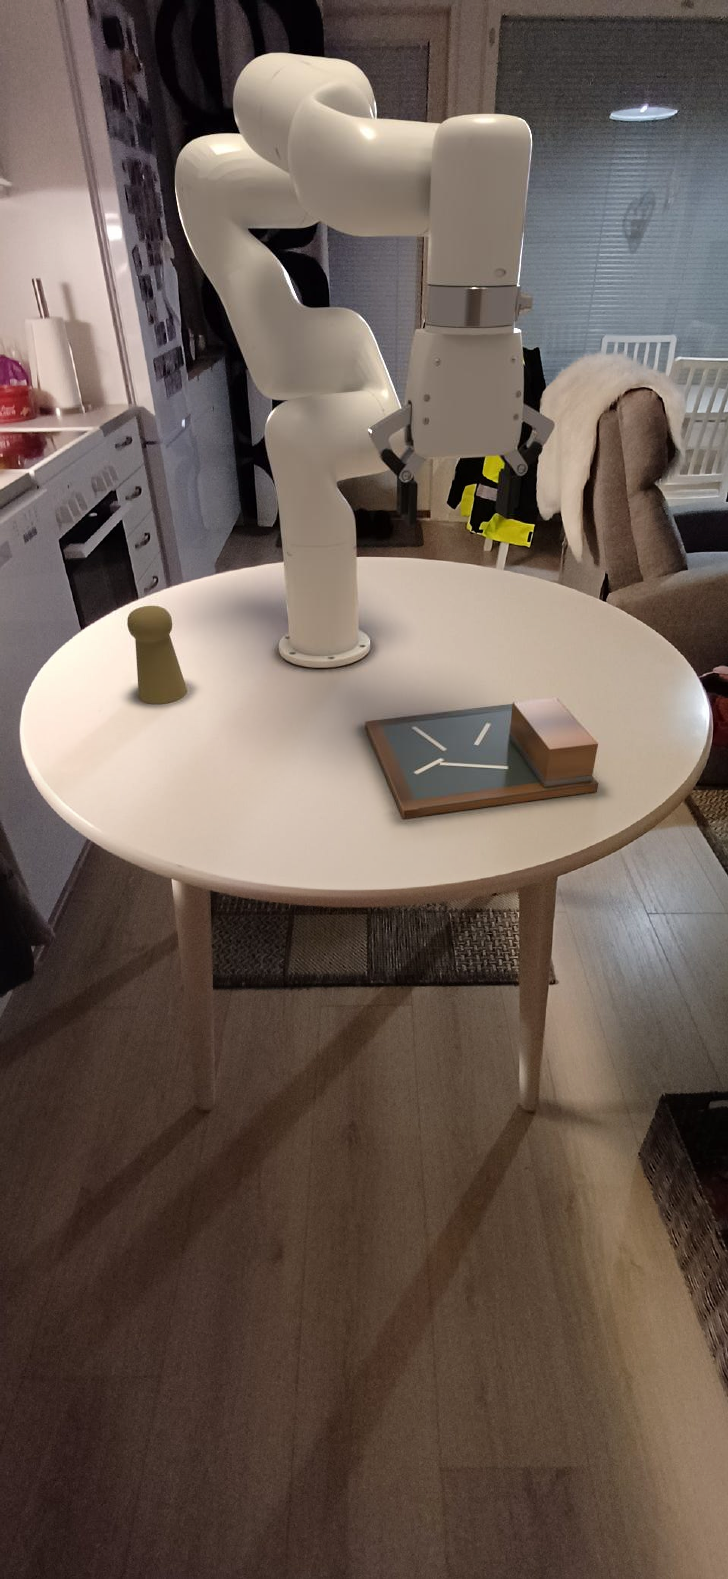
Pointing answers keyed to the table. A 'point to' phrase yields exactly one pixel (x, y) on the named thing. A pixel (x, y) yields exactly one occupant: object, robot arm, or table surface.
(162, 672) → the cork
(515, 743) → the eraser
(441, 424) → the robot arm
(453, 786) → the chalkboard
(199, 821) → the table surface
